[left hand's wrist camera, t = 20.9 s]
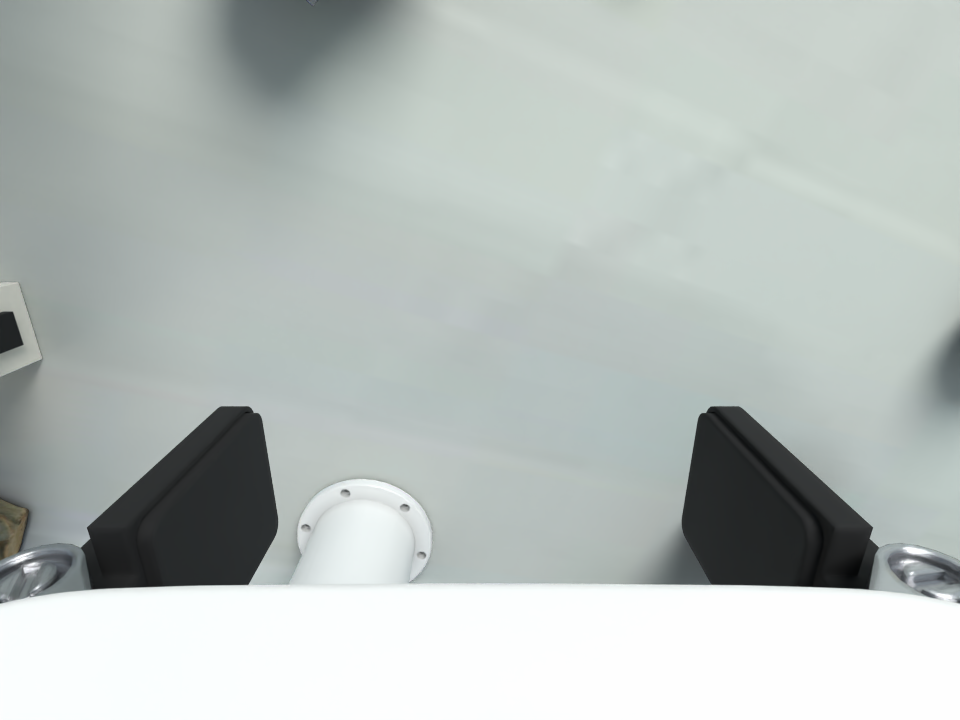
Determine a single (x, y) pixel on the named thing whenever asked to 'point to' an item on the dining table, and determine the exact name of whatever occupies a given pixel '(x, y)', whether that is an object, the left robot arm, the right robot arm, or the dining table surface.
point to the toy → (312, 2)
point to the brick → (11, 299)
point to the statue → (11, 528)
